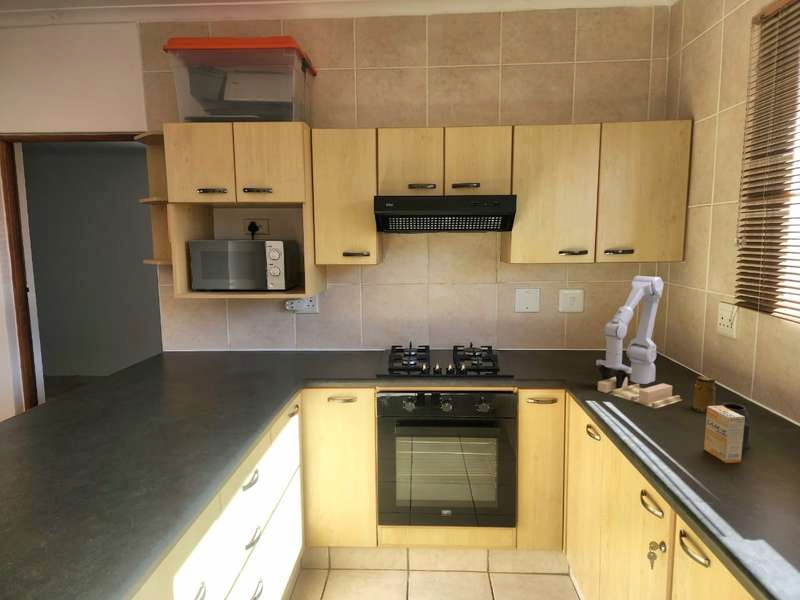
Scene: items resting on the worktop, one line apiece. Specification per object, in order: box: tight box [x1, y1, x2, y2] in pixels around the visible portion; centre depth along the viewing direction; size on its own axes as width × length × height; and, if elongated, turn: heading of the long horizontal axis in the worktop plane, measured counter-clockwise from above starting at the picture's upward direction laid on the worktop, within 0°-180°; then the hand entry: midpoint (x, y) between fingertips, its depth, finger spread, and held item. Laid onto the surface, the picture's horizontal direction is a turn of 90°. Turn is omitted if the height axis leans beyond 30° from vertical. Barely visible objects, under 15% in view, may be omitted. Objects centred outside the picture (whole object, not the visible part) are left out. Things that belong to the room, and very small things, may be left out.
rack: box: [608, 383, 682, 409], centre depth 175 cm, size 16×18×2 cm
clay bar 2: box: [639, 383, 673, 405], centre depth 172 cm, size 14×4×4 cm, turn 119°
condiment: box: [692, 375, 716, 414], centre depth 160 cm, size 7×8×12 cm
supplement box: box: [703, 405, 745, 464], centre depth 129 cm, size 8×5×13 cm, turn 5°
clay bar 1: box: [597, 376, 629, 394], centre depth 186 cm, size 14×4×4 cm, turn 123°
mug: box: [721, 402, 751, 451], centre depth 135 cm, size 12×9×11 cm
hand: (612, 386), depth 186 cm, fingers open, 5 cm apart
